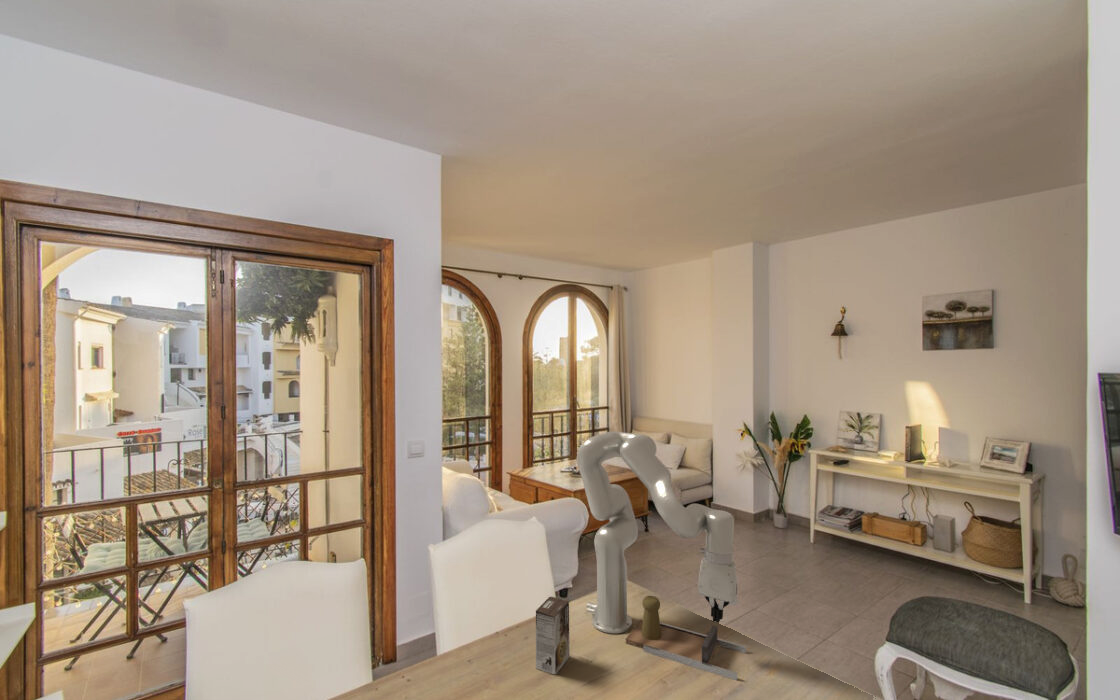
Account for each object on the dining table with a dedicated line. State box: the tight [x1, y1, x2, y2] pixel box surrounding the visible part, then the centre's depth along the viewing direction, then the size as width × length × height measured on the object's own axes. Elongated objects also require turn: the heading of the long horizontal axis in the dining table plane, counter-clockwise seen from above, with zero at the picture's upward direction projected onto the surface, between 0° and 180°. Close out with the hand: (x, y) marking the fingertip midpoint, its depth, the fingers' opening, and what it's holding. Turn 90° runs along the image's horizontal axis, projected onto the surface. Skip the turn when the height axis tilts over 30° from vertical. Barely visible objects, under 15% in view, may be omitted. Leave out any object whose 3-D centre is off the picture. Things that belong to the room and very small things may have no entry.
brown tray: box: [625, 619, 718, 664], centre depth 149 cm, size 24×12×6 cm, turn 60°
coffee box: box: [535, 596, 570, 675], centre depth 141 cm, size 9×6×16 cm
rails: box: [642, 621, 748, 681], centre depth 146 cm, size 26×15×2 cm, turn 60°
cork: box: [641, 595, 662, 640], centre depth 152 cm, size 6×6×11 cm
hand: (716, 620), depth 143 cm, fingers closed
